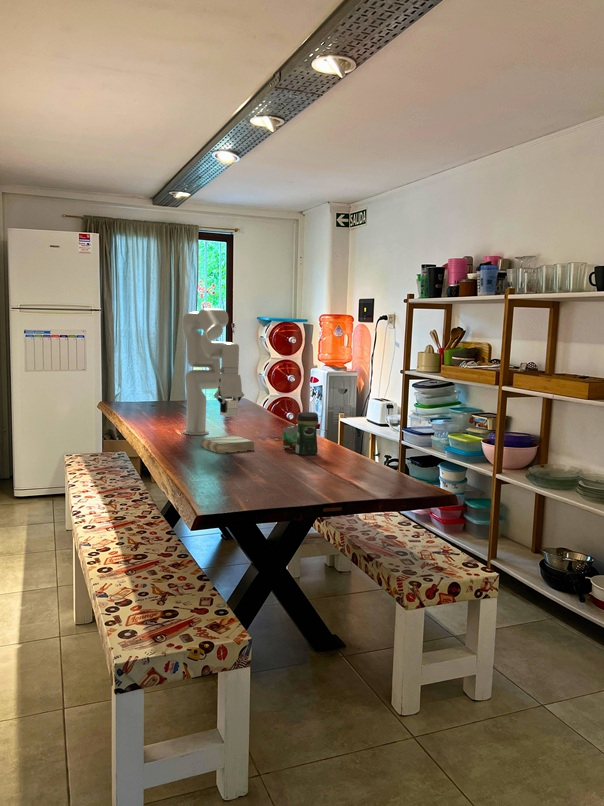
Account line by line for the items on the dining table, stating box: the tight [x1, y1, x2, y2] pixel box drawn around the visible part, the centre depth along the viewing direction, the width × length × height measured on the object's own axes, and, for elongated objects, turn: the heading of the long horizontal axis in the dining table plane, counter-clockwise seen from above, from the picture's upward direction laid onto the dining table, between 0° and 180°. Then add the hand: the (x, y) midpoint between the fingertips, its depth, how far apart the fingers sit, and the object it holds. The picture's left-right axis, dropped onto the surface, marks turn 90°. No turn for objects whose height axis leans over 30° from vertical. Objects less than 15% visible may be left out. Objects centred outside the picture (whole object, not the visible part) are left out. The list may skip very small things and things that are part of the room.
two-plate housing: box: [219, 398, 239, 418], centre depth 290 cm, size 5×7×7 cm
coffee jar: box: [294, 411, 319, 456], centre depth 287 cm, size 10×8×19 cm
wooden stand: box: [201, 435, 255, 454], centre depth 293 cm, size 16×18×4 cm
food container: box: [282, 423, 298, 450], centre depth 300 cm, size 12×6×10 cm, turn 168°
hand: (228, 411), depth 291 cm, fingers closed on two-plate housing, 5 cm apart
